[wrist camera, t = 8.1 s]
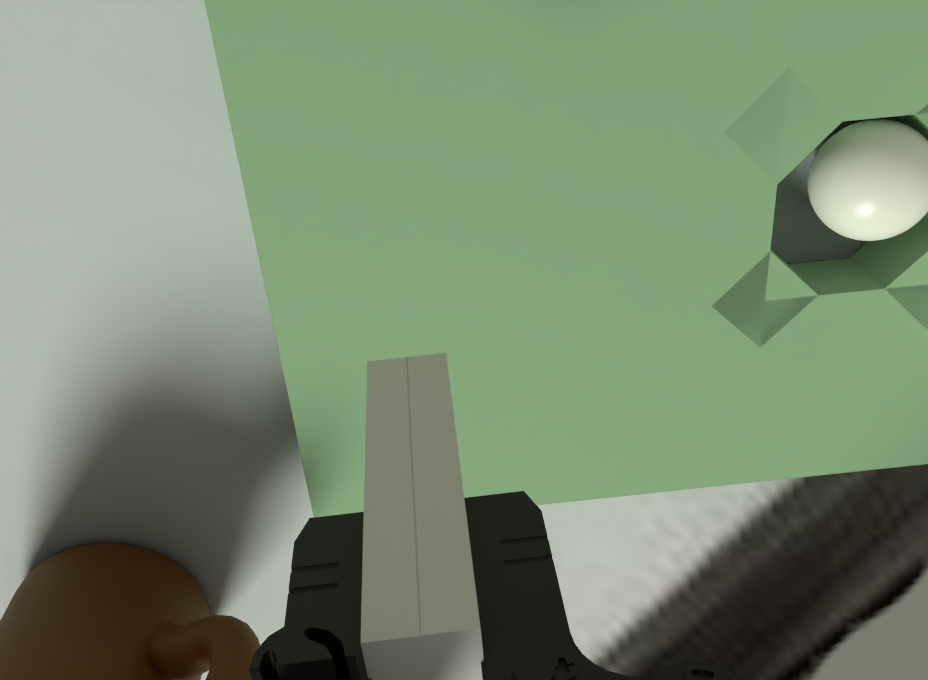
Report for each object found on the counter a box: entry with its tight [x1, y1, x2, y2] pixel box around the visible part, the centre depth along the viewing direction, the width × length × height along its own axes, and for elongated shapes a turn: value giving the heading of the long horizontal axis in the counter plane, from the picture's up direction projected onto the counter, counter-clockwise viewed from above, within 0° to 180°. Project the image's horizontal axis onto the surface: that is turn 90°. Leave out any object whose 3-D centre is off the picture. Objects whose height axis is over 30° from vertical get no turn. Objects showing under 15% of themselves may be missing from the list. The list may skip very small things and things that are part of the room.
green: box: [204, 0, 928, 518], centre depth 20 cm, size 22×25×18 cm
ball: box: [808, 119, 928, 241], centre depth 26 cm, size 4×4×4 cm
